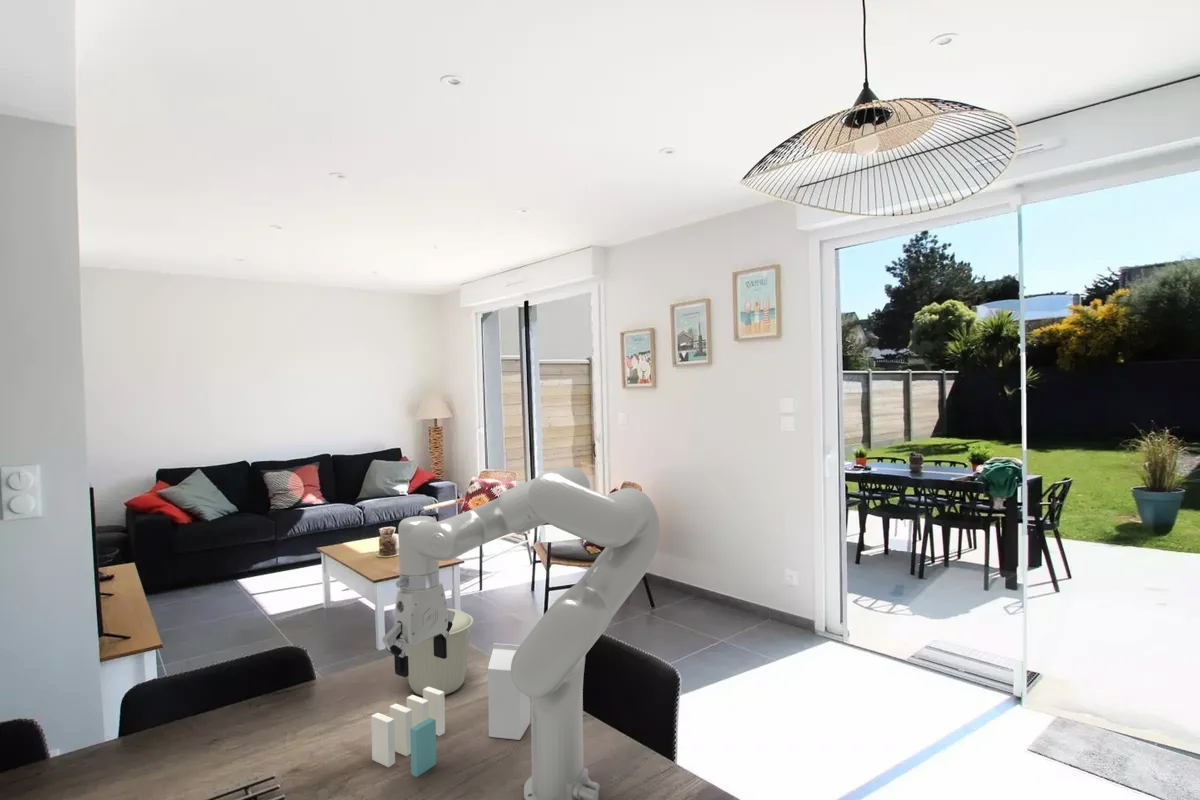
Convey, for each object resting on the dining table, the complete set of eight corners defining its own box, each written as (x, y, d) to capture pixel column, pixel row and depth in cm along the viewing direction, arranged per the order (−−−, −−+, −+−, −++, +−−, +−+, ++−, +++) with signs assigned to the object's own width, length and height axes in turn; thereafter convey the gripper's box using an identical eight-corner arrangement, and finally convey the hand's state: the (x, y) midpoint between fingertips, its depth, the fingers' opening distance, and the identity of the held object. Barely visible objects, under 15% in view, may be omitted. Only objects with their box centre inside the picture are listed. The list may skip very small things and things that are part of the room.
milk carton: (520, 740, 138) (519, 652, 137) (488, 737, 139) (487, 649, 139) (530, 723, 145) (529, 639, 144) (500, 720, 146) (499, 637, 146)
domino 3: (429, 742, 138) (428, 700, 137) (423, 746, 136) (422, 703, 136) (413, 735, 140) (412, 694, 140) (407, 739, 139) (406, 697, 139)
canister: (489, 681, 166) (487, 600, 165) (436, 712, 150) (435, 622, 150) (438, 666, 175) (437, 589, 175) (384, 693, 160) (382, 608, 159)
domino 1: (395, 763, 130) (394, 719, 130) (388, 767, 129) (387, 722, 128) (378, 755, 133) (377, 712, 133) (372, 759, 131) (371, 715, 131)
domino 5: (445, 732, 141) (444, 691, 141) (439, 736, 140) (438, 694, 140) (429, 726, 144) (428, 686, 144) (423, 729, 143) (422, 689, 143)
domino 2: (412, 752, 134) (411, 709, 134) (406, 756, 132) (405, 712, 132) (396, 745, 136) (395, 703, 136) (390, 749, 135) (389, 706, 135)
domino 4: (430, 761, 130) (429, 717, 130) (436, 764, 130) (435, 719, 129) (411, 774, 126) (410, 728, 126) (416, 776, 125) (416, 730, 125)
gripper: (396, 595, 118) (398, 687, 119) (465, 571, 133) (467, 654, 133) (370, 588, 123) (372, 678, 123) (439, 566, 137) (441, 647, 137)
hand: (421, 666), depth 128 cm, fingers open, 9 cm apart
